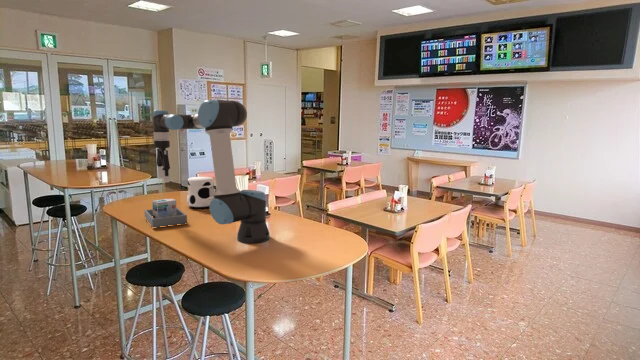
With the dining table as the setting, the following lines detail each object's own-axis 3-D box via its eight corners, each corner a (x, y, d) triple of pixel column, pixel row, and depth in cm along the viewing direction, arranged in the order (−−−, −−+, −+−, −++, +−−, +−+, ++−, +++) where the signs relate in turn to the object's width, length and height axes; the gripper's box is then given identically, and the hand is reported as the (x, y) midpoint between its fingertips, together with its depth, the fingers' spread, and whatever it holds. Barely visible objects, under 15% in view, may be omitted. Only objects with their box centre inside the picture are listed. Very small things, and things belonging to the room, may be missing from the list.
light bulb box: (158, 222, 203) (157, 202, 201) (152, 220, 207) (151, 200, 206) (177, 219, 211) (176, 199, 209) (171, 216, 215) (170, 197, 213)
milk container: (185, 204, 248) (184, 177, 245) (213, 202, 256) (212, 175, 253) (188, 210, 233) (187, 181, 230) (218, 208, 240) (217, 180, 237)
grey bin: (187, 224, 205) (186, 215, 204) (152, 229, 195) (152, 219, 194) (176, 215, 223) (176, 206, 222) (144, 218, 213) (144, 210, 212)
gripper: (175, 141, 194) (176, 183, 197) (164, 138, 214) (165, 176, 217) (159, 141, 189) (161, 184, 193) (149, 138, 210) (151, 177, 213)
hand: (163, 180), depth 205 cm, fingers open, 13 cm apart
